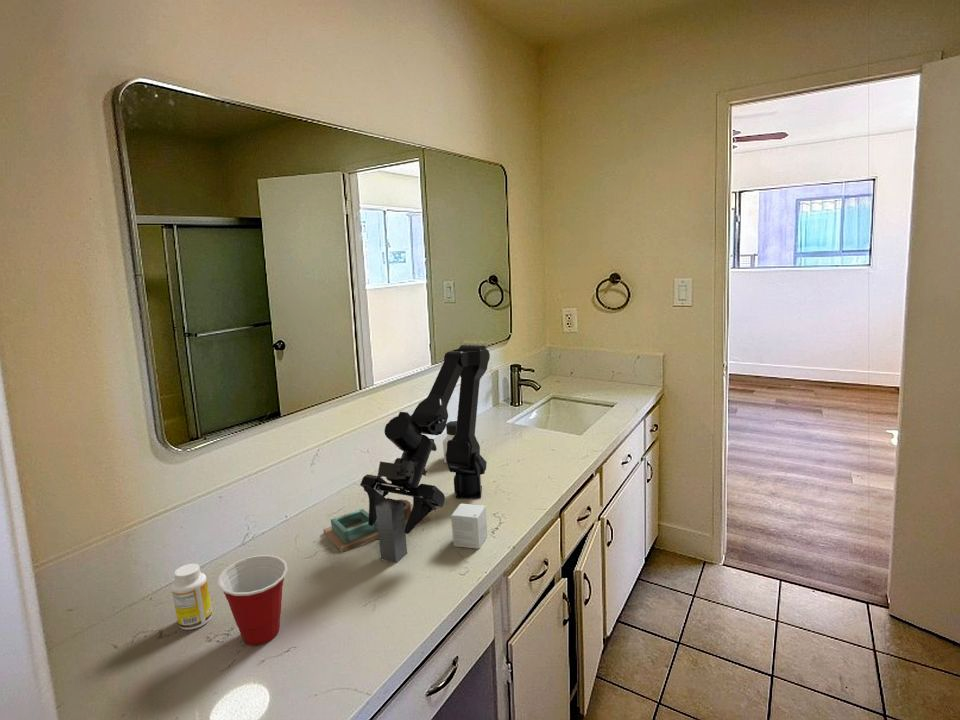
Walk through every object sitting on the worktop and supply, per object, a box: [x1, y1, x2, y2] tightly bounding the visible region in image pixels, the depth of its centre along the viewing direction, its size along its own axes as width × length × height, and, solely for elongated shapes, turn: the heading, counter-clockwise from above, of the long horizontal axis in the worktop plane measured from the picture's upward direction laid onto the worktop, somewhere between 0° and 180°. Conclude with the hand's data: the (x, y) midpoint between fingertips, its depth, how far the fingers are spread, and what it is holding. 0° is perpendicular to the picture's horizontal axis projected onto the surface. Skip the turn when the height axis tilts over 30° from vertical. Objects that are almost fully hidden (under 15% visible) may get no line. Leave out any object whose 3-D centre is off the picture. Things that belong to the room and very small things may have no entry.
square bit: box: [376, 497, 408, 564], centre depth 116 cm, size 4×4×12 cm
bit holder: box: [323, 498, 430, 553], centre depth 131 cm, size 22×11×4 cm, turn 126°
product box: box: [450, 503, 488, 550], centre depth 121 cm, size 6×6×7 cm
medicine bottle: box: [442, 419, 457, 464], centre depth 170 cm, size 7×7×12 cm
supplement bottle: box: [171, 563, 213, 631], centre depth 99 cm, size 6×6×10 cm
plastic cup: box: [217, 554, 288, 647], centre depth 94 cm, size 11×11×12 cm
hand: (387, 529), depth 115 cm, fingers open, 9 cm apart
